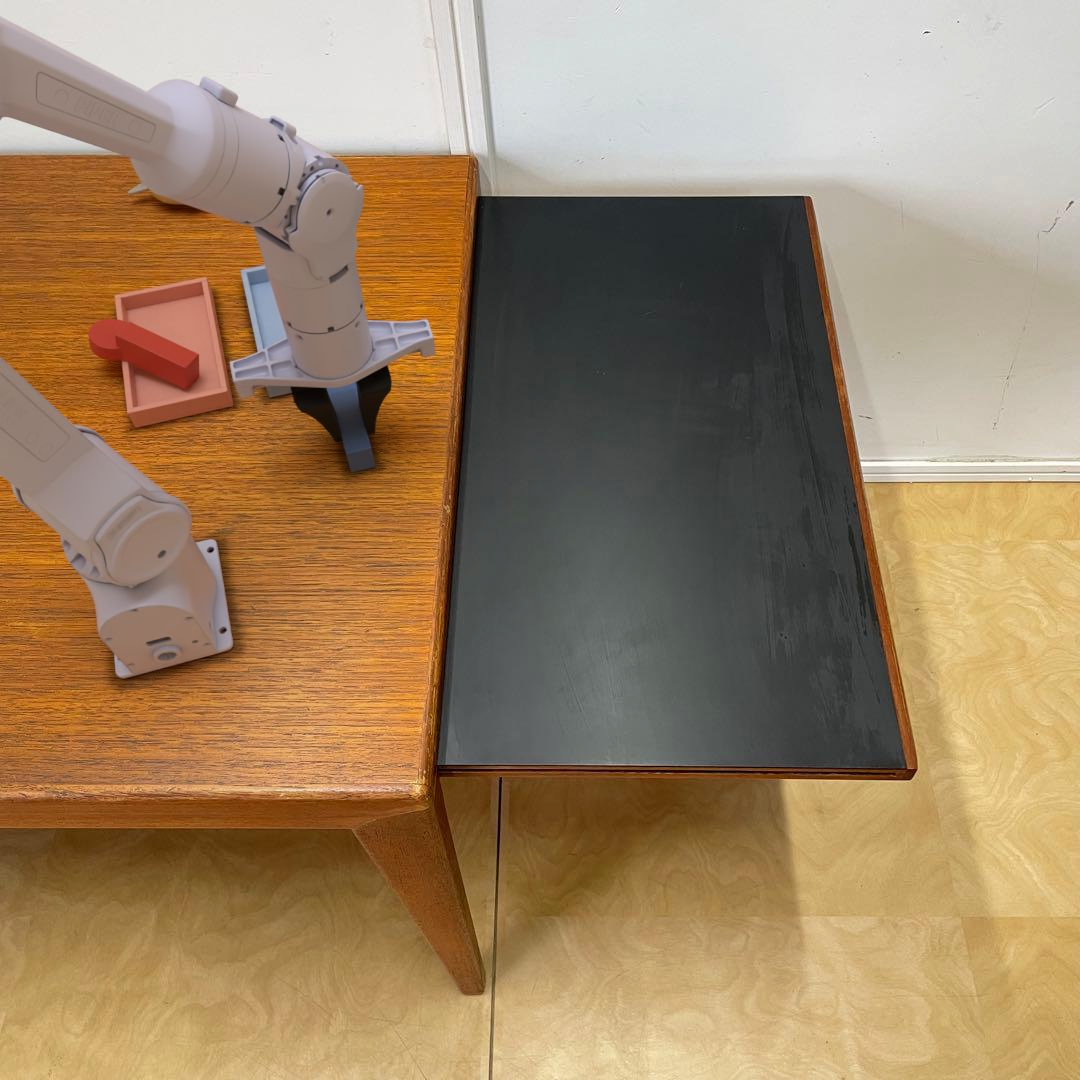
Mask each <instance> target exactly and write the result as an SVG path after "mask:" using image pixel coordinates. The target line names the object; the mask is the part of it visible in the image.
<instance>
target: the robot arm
mask: <svg viewBox="0 0 1080 1080" xmlns="http://www.w3.org/2000/svg"><path fill="white" fill-rule="evenodd" d="M238 100H239V95H238V94H237V93H236V92H234V91H233V90H231V89H229V88H228V87H226V86H224V85H222V84H221V83H219V82H217V81H215V80H213V79H211V78H209V77H207V76H202V77H201V79H200V82H199V84H198V85H197V84H195V83H193V82H191V81H188V80H185V79H180V78H176V79H175V78H174V79H166V80H164V81H162V82H159V83H157V84H155V85H154V86H152V87H151V88H150V89H148V90H145V89H143V88H141V87H139V86H136V85H135V84H133V83H131V82H129V81H127V80H125V79H123V78H121V77H119V76H117V75H115V74H113V73H111V72H109V71H107V70H105V69H103V68H102V67H99V66H97V65H95V64H94V63H92V62H90V61H88V60H86V59H84V58H82V57H81V56H79V55H76V54H74V53H73V52H70V51H69V50H67V49H65V48H63V47H61V46H59V45H57V44H56V43H53V42H51V41H49V40H48V39H45V38H43V37H42V36H40V35H38V34H35V33H34V32H32V31H29V30H27V29H26V28H24V27H22V26H20V25H18V24H16V23H14V22H12V21H10V20H8V19H6V18H4V17H3V16H0V121H1V120H2V119H3V118H10V119H13V120H16V121H19V122H22V123H25V124H28V125H30V126H34V127H37V128H40V129H43V130H45V131H50V132H52V133H54V134H55V133H56V134H57V135H61V136H64V137H67V138H70V139H74V140H76V141H80V142H83V143H85V144H88V145H92V146H93V147H97V148H100V149H103V150H105V151H106V150H107V151H109V152H113V153H115V154H118V155H122V156H124V157H128V158H129V160H130V164H131V166H132V169H133V170H134V172H135V174H136V176H137V178H138V179H139V181H140V182H141V183H143V184H144V185H145V186H146V187H147V188H148V189H149V190H148V191H150V192H151V191H152V192H153V193H155V194H158V195H160V196H163V197H166V198H169V199H172V200H175V201H177V202H180V203H183V204H186V205H185V206H189V207H192V208H195V209H198V210H201V211H203V212H205V213H209V214H212V215H214V216H217V217H221V218H223V219H226V220H228V221H231V222H235V223H238V224H240V225H243V226H247V227H253V228H252V229H253V233H254V235H255V238H256V242H257V245H258V248H259V251H260V254H261V258H262V261H263V264H264V265H265V268H266V271H267V274H268V277H269V280H270V284H271V287H272V290H273V293H274V297H275V300H276V303H277V306H278V309H279V313H280V316H281V320H282V323H283V326H284V329H285V333H286V336H287V337H286V338H284V339H282V340H280V341H278V342H276V343H274V344H272V345H270V346H268V347H266V348H264V349H262V350H260V351H256V352H254V353H252V354H250V355H247V356H244V357H241V358H238V359H235V360H230V361H229V366H230V367H229V368H230V373H231V377H232V382H233V384H234V387H235V389H236V391H237V394H238V398H240V399H246V398H250V397H253V396H255V394H256V392H255V389H260V388H264V387H265V388H266V386H290V388H291V391H292V393H291V395H292V399H293V403H294V404H295V406H296V408H297V409H298V410H299V411H300V413H302V414H305V415H308V416H309V417H311V418H312V419H314V420H316V421H317V422H318V423H319V424H320V425H321V426H322V427H323V428H324V429H325V430H326V432H328V434H329V435H330V437H331V438H332V440H333V442H334V443H335V444H338V443H343V440H342V436H341V431H340V427H339V424H338V420H337V416H336V412H335V409H334V407H333V404H332V402H331V399H330V397H329V394H328V391H327V388H337V387H343V386H347V385H350V384H352V383H354V382H356V385H357V392H358V400H359V407H360V410H361V414H362V417H363V421H364V425H365V428H366V430H367V434H368V436H372V435H375V434H376V424H377V419H378V416H379V412H380V408H381V407H382V404H383V402H384V401H385V399H386V397H387V396H388V395H389V394H390V393H391V391H392V382H393V381H392V380H393V379H392V375H391V373H390V369H389V365H390V364H392V363H393V362H395V361H397V360H400V359H401V358H403V357H405V356H409V355H412V354H418V353H419V355H420V357H421V358H429V357H435V356H436V355H437V354H436V344H435V337H434V333H433V330H432V328H431V325H430V323H429V320H428V318H424V319H419V320H410V321H404V320H403V321H401V320H400V321H399V320H398V321H396V320H372V319H368V315H367V310H366V306H365V300H364V295H363V294H364V293H363V289H362V285H361V280H360V276H359V269H358V264H357V260H356V256H357V253H356V252H357V250H358V249H359V243H358V240H357V239H358V238H357V228H358V224H359V221H360V219H361V217H362V216H361V215H362V213H363V208H364V201H365V189H364V185H363V184H359V183H358V182H356V181H354V178H353V177H354V176H353V175H351V174H349V173H351V169H349V167H348V166H347V165H346V164H345V163H344V162H343V161H341V160H340V159H338V158H336V157H334V155H331V154H329V153H328V152H327V151H326V152H325V151H324V150H323V149H321V148H319V147H318V146H316V145H314V144H312V143H310V142H309V141H307V140H305V139H303V138H302V137H300V136H298V135H297V131H298V130H297V128H296V127H295V126H294V125H292V124H290V123H289V122H287V121H286V120H283V119H281V118H280V117H278V116H276V115H271V116H269V117H268V118H267V117H265V118H261V117H259V116H258V115H255V114H253V113H252V112H250V111H248V110H246V109H244V108H242V107H240V106H239V105H236V104H237V102H238ZM152 192H151V193H152ZM0 477H2V478H3V479H5V480H6V481H7V482H9V483H10V486H11V490H12V493H13V495H14V498H15V499H16V501H18V502H19V504H21V505H22V506H23V507H24V508H25V509H27V510H28V511H30V512H33V513H34V514H35V515H36V516H38V517H39V518H40V519H41V521H43V522H44V523H45V524H46V525H48V526H49V528H51V529H52V530H53V531H55V532H56V533H57V534H58V535H59V536H60V537H59V539H60V543H61V546H62V549H63V551H64V556H65V558H66V560H67V561H68V563H69V565H71V567H72V568H73V569H74V570H75V571H76V572H77V574H78V575H79V577H80V578H81V579H82V580H83V582H84V583H85V585H86V587H87V589H88V590H89V593H90V595H91V597H92V601H93V604H94V609H95V610H94V611H95V616H96V617H95V618H96V627H97V633H98V636H99V638H100V640H101V641H102V642H103V643H104V645H106V647H107V648H108V649H109V650H110V651H111V652H112V653H113V658H114V659H113V660H114V669H115V675H116V676H117V677H118V678H119V679H128V678H131V677H135V676H138V675H143V674H147V673H151V672H154V671H158V670H161V669H164V668H170V667H172V666H176V665H179V664H183V663H186V662H191V661H194V660H198V659H202V658H205V657H210V656H213V655H216V654H220V653H224V652H228V651H231V649H233V646H234V639H233V631H232V627H231V620H230V613H229V608H228V601H227V600H228V599H227V594H226V589H225V588H226V587H225V581H224V576H223V570H222V569H223V568H222V563H221V557H220V551H219V544H218V543H217V541H216V540H215V539H213V538H209V539H204V540H201V541H196V540H195V538H194V537H193V535H192V533H191V532H192V527H193V517H192V513H191V511H190V508H189V507H188V505H187V504H186V503H185V502H184V501H183V500H181V499H179V498H178V497H176V496H175V495H172V494H171V495H170V494H169V493H168V492H167V491H165V489H163V488H162V487H160V486H159V485H158V484H157V483H156V482H155V481H153V480H152V479H151V478H149V477H148V476H147V475H146V474H144V473H143V472H142V471H141V470H140V469H138V468H137V467H136V466H135V465H133V463H131V462H130V461H129V460H127V459H126V458H125V457H124V456H123V455H122V454H120V453H119V452H118V451H116V450H115V449H114V448H113V447H112V446H110V445H109V444H108V443H107V441H106V440H105V438H104V437H102V436H101V435H100V434H99V433H98V432H97V431H96V430H94V429H93V428H91V427H88V426H85V425H80V424H73V423H72V422H71V421H70V420H69V419H68V418H67V417H66V416H65V415H64V414H63V413H61V412H60V411H59V410H58V408H56V406H54V405H53V404H52V403H51V402H50V401H48V399H46V398H45V397H44V396H43V395H42V394H41V392H39V391H38V390H37V389H36V388H35V387H34V386H32V384H30V383H29V382H28V381H27V380H26V379H25V378H24V377H23V376H22V375H21V374H20V373H19V372H18V371H16V369H14V368H13V367H12V366H11V365H10V364H9V363H8V362H7V361H5V359H4V358H3V357H2V356H0ZM212 550H213V551H212ZM210 551H211V552H210ZM224 630H226V631H225V632H223V633H222V631H224Z"/></svg>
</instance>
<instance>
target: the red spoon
mask: <svg viewBox="0 0 1080 1080" xmlns="http://www.w3.org/2000/svg"><path fill="white" fill-rule="evenodd" d="M87 335H88V341H89V342H88V343H89V348H90V350H91V352H92V354H94V355H95V356H97V357H98V358H100V359H103V360H106V361H112V362H113V361H115V362H116V361H117V362H118V361H122V360H124V361H126V362H128V363H131V364H133V365H135V366H137V367H139V368H141V369H143V370H145V371H147V372H150V373H152V374H154V375H156V376H158V377H160V378H162V379H164V380H167V381H169V382H171V383H173V384H175V385H177V386H179V387H181V388H184V389H188V388H189V387H190V385H191V384H192V383H193V382H194V381H195V380H196V379H197V378H198V377H199V354H197V353H195V352H193V351H191V350H189V349H187V348H185V347H183V346H180V345H178V344H176V343H174V342H172V341H170V340H168V339H166V338H163V337H161V336H159V335H157V334H155V333H153V332H151V331H149V330H146V329H144V328H142V327H140V326H138V325H136V324H134V323H132V322H129V323H126V322H124V321H122V320H118V319H117V318H103V319H101V320H98V321H96V322H94V323H93V324H91V325H90V327H89V329H88V333H87Z"/></svg>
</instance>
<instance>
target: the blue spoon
mask: <svg viewBox="0 0 1080 1080" xmlns="http://www.w3.org/2000/svg"><path fill="white" fill-rule="evenodd" d="M327 391H328V394H329V397H330V399H331V402H332V404H333V407H334V409H335V412H336V416H337V420H338V424H339V427H340V431H341V436H342V440H343V441H342V443H343V448H344V452H345V456H346V459H347V463H348V466H349V470H350V473H356V472H360V471H365V470H369V469H373V468H376V462H375V457H374V453H373V448H372V445H371V442H370V439H369V435H368V434H367V430H366V428H365V425H364V421H363V417H362V414H361V410H360V407H359V400H358V392H357V385H356V382H354V383H352V384H350V385H347V386H343V387H337V388H327Z"/></svg>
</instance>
